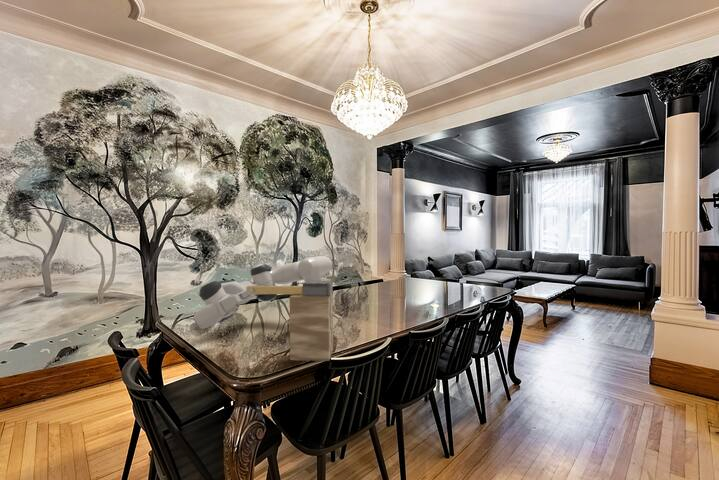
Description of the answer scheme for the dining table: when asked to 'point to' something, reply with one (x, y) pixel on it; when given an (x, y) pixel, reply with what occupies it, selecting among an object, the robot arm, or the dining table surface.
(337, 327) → the dining table surface
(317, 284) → the socket
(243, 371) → the dining table surface
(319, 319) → the pedestal
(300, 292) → the bar
